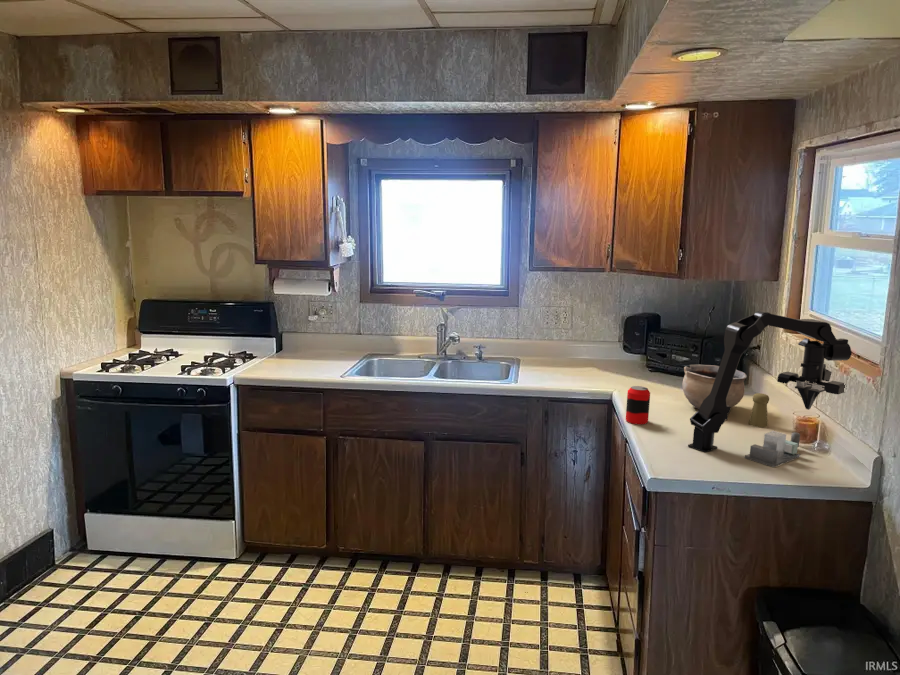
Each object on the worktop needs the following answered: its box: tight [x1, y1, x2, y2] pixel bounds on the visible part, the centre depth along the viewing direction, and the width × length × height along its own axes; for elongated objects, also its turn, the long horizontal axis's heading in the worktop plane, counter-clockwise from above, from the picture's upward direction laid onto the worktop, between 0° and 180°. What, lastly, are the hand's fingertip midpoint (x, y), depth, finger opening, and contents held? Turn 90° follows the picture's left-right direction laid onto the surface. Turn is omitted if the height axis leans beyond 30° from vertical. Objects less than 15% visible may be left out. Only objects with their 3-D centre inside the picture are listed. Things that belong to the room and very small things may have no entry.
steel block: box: [762, 430, 787, 458], centre depth 204 cm, size 5×4×6 cm
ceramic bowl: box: [682, 364, 748, 410], centre depth 253 cm, size 22×22×15 cm
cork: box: [748, 392, 770, 428], centre depth 236 cm, size 6×6×11 cm
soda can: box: [625, 385, 651, 425], centre depth 237 cm, size 8×8×12 cm
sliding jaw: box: [784, 432, 801, 454], centre depth 210 cm, size 9×7×4 cm
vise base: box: [744, 444, 801, 468], centre depth 204 cm, size 15×9×4 cm, turn 127°
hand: (807, 409), depth 214 cm, fingers closed
